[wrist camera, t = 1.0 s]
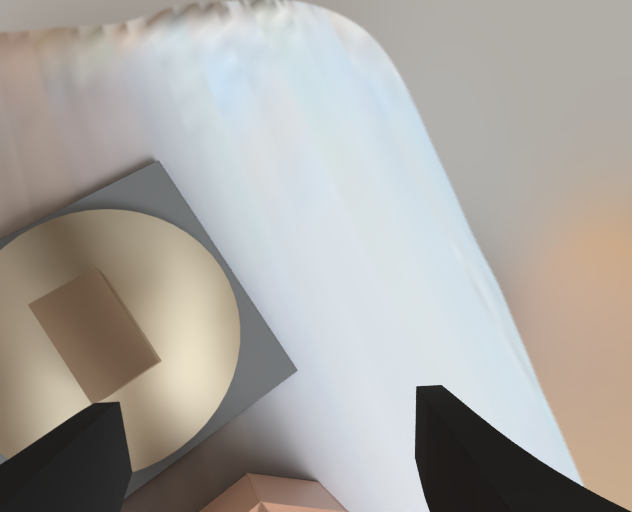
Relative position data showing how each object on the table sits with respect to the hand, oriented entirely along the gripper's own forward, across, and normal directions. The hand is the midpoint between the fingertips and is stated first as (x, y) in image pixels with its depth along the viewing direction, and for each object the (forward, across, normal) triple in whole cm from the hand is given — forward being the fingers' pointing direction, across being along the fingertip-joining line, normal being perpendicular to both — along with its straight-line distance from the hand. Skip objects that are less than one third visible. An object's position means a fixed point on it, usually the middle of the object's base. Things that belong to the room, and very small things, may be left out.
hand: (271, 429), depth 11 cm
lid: (+12, +9, +3) cm, 15 cm away
